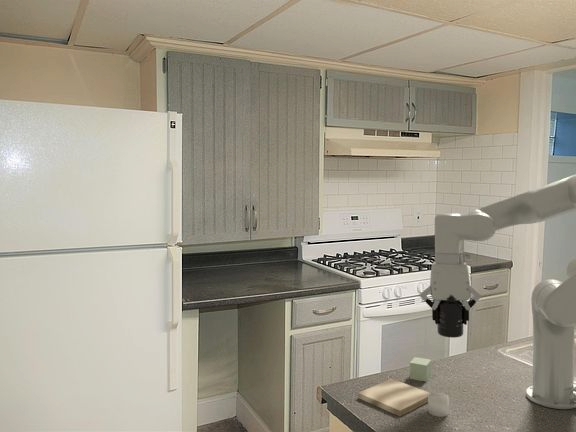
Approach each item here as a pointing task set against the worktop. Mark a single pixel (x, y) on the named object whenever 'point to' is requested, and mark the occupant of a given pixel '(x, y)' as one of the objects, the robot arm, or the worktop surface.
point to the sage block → (420, 369)
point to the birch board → (395, 396)
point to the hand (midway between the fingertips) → (450, 322)
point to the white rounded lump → (438, 404)
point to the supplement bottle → (450, 318)
